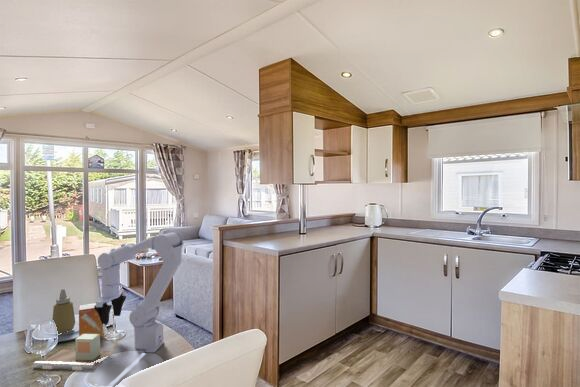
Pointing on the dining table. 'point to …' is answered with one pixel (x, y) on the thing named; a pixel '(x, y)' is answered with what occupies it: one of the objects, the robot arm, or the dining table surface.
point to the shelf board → (70, 361)
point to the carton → (87, 346)
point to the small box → (89, 320)
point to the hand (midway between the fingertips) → (111, 319)
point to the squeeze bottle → (63, 313)
